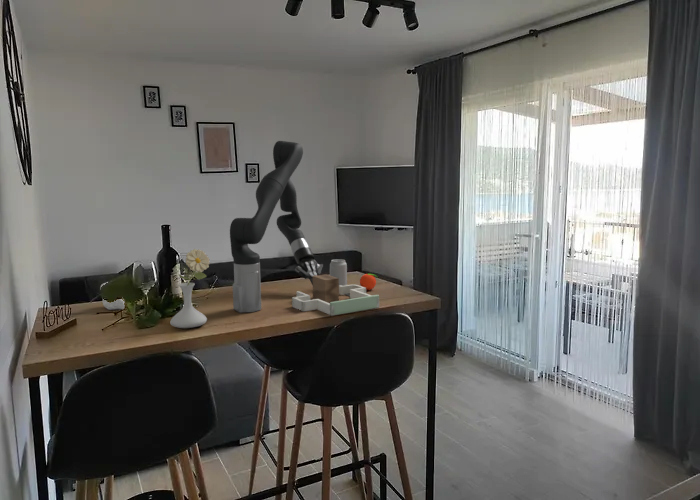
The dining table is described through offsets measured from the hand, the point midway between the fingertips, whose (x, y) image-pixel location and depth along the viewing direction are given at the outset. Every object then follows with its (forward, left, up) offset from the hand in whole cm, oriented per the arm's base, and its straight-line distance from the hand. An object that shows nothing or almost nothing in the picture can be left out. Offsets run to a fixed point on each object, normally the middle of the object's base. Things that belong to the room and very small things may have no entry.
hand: (316, 285), depth 202 cm
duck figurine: (-72, +24, -5) cm, 76 cm away
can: (+16, +9, -5) cm, 19 cm away
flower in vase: (-54, -14, -5) cm, 56 cm away
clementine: (+24, -3, -5) cm, 25 cm away
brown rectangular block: (0, -7, -4) cm, 8 cm away
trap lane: (0, -15, -4) cm, 16 cm away
